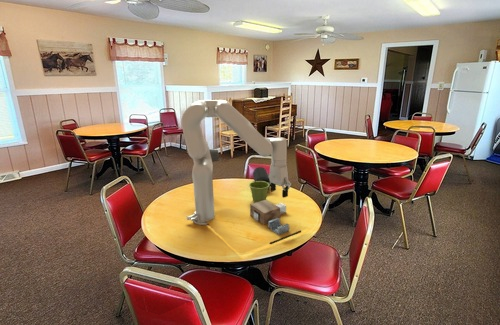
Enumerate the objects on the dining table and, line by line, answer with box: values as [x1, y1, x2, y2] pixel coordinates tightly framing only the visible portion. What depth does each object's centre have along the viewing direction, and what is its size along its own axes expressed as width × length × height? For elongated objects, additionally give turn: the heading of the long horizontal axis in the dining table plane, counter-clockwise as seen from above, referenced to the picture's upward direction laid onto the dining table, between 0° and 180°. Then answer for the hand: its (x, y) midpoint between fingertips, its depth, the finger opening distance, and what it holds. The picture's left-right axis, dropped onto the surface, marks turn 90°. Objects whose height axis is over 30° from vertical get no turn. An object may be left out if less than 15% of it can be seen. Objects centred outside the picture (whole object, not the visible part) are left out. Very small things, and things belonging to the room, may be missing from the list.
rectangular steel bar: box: [253, 202, 287, 223], centre depth 149 cm, size 18×4×4 cm, turn 123°
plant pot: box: [248, 181, 270, 203], centre depth 167 cm, size 12×12×11 cm
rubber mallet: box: [209, 148, 220, 163], centre depth 173 cm, size 12×8×30 cm, turn 93°
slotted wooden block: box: [249, 199, 281, 226], centre depth 147 cm, size 10×12×8 cm
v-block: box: [267, 218, 302, 245], centre depth 136 cm, size 18×12×5 cm, turn 124°
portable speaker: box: [252, 166, 270, 190], centre depth 193 cm, size 26×10×10 cm, turn 3°
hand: (279, 193), depth 149 cm, fingers open, 9 cm apart
